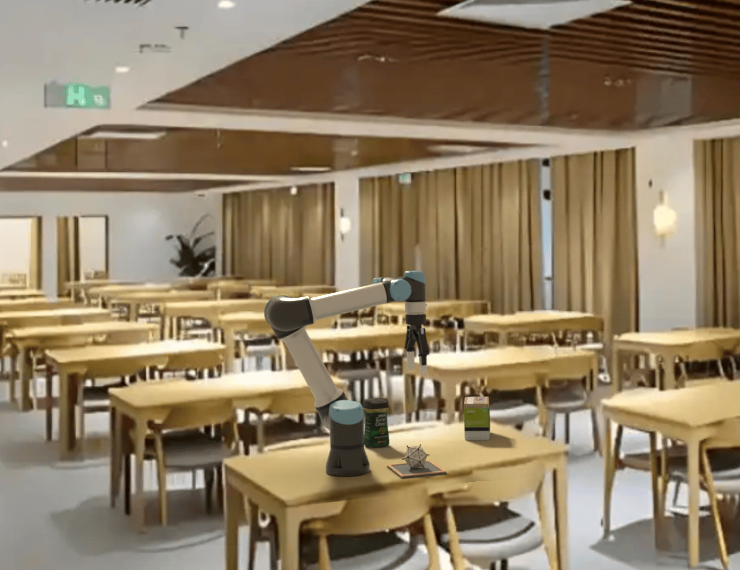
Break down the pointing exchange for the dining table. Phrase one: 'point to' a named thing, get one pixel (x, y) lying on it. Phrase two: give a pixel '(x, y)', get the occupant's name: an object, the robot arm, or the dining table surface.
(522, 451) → the dining table surface
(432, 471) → the mat
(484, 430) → the tea box
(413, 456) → the game die
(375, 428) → the coffee jar
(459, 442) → the dining table surface
